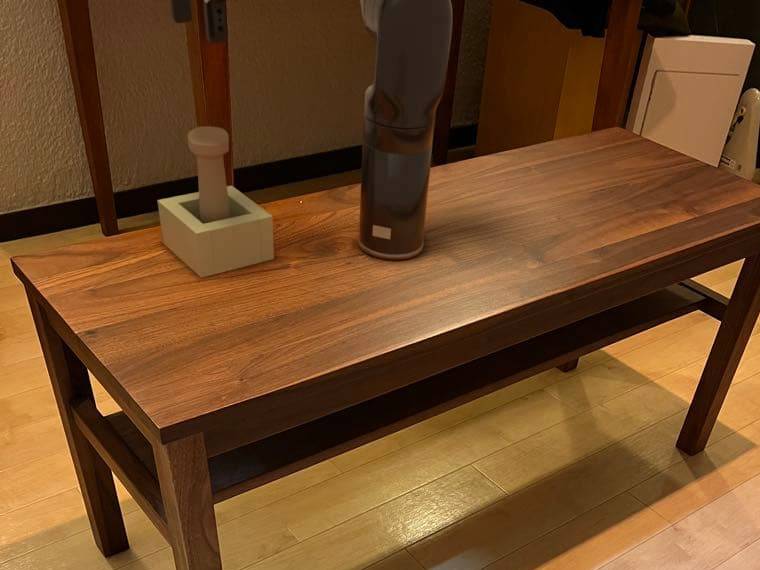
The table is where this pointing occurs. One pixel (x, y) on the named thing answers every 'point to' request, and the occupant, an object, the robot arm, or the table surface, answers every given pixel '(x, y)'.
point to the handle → (211, 171)
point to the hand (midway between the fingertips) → (199, 31)
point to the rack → (217, 234)
